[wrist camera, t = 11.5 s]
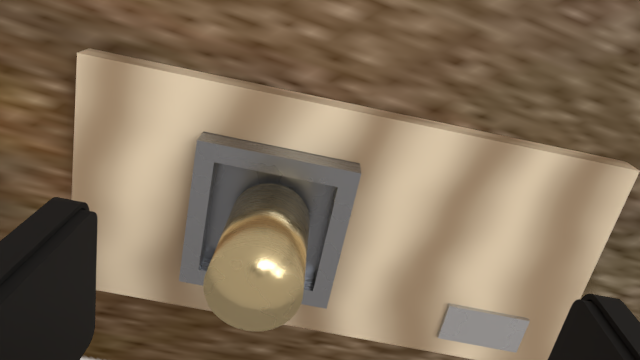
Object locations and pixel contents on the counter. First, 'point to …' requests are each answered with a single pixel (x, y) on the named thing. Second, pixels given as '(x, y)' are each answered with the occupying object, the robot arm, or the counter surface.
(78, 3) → the counter surface
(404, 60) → the counter surface
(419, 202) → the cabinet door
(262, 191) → the hinge barrel
